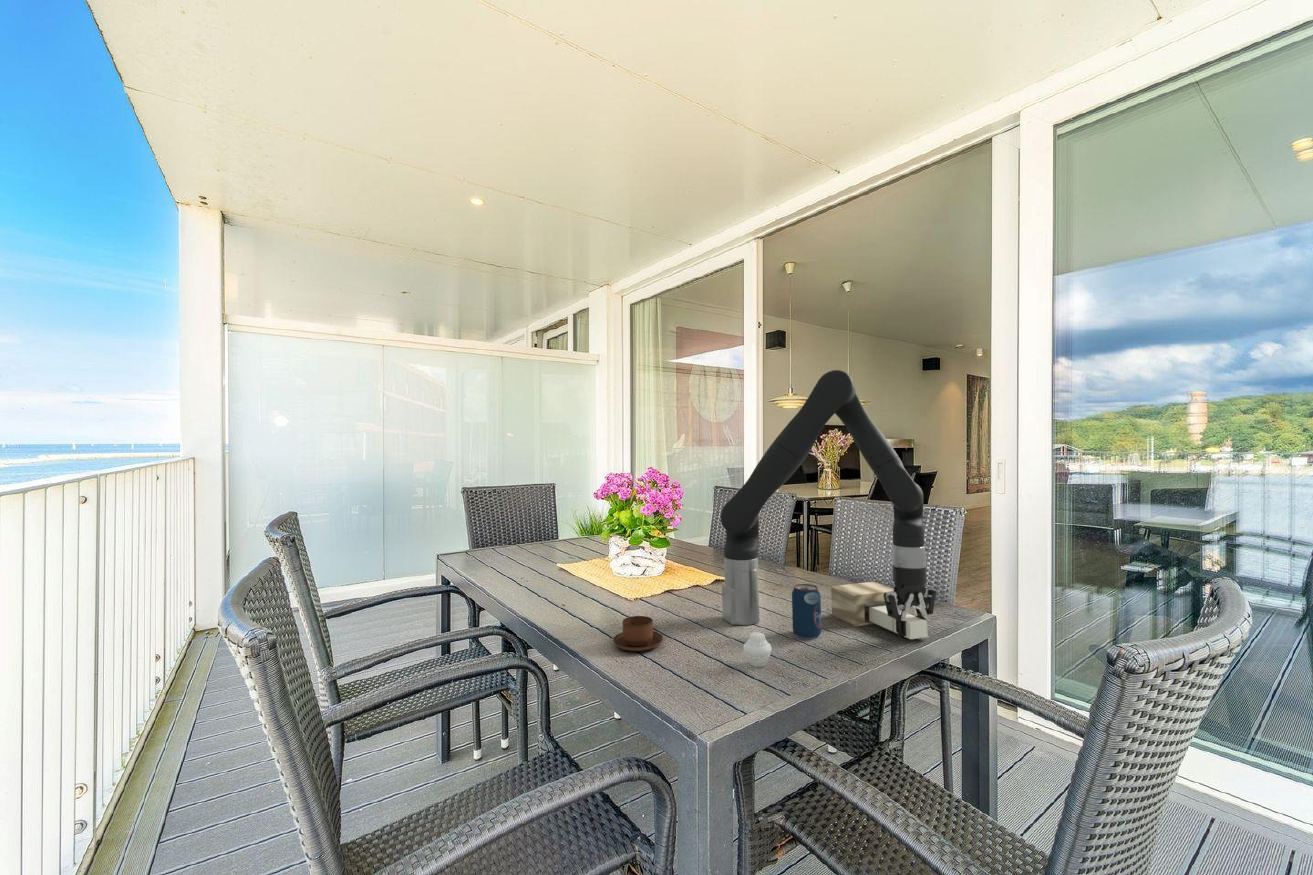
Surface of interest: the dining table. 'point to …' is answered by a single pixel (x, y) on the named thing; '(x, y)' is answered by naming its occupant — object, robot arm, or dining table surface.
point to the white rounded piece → (757, 649)
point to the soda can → (806, 611)
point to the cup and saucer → (638, 634)
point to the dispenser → (857, 601)
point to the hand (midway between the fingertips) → (911, 633)
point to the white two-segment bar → (880, 617)
